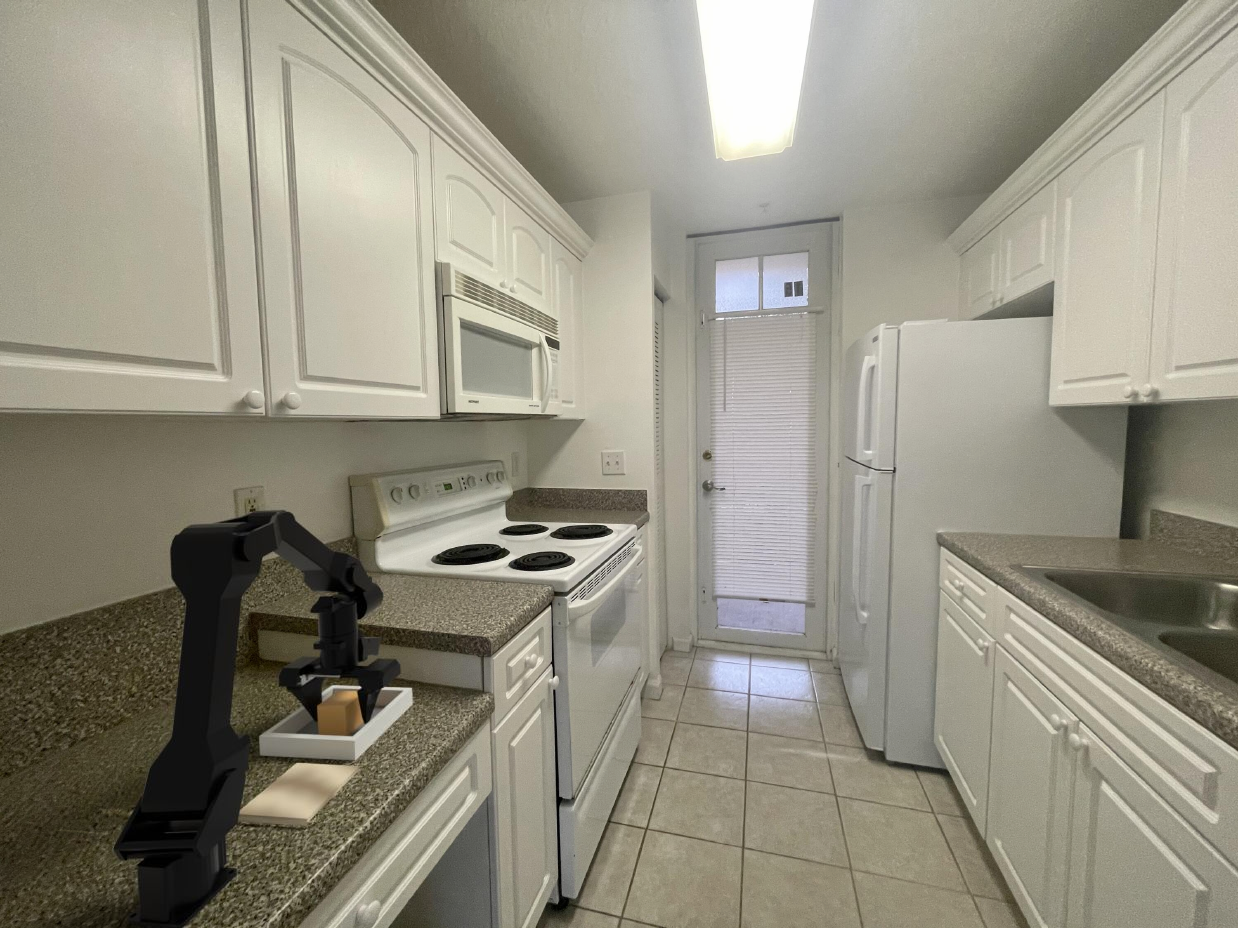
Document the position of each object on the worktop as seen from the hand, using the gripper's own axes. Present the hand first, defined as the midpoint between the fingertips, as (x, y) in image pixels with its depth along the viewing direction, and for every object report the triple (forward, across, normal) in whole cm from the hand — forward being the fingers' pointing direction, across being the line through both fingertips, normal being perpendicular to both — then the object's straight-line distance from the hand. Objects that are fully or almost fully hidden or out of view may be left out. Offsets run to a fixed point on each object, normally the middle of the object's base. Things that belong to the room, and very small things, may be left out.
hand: (342, 721), depth 81 cm
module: (+1, 0, 0) cm, 1 cm away
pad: (+2, -5, +15) cm, 16 cm away
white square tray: (+2, 0, 0) cm, 2 cm away
